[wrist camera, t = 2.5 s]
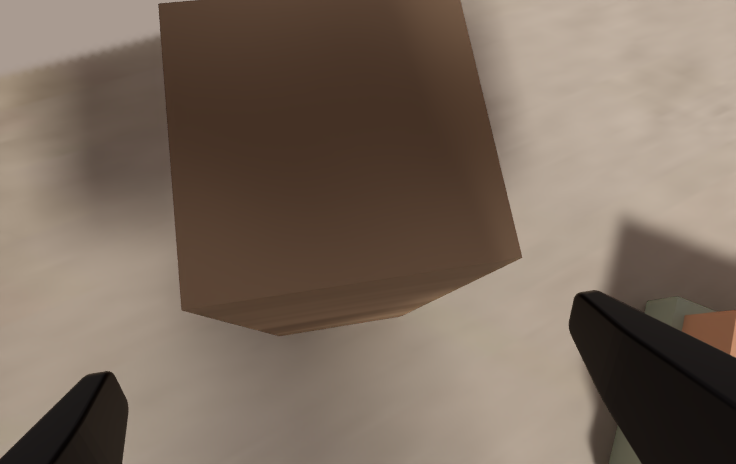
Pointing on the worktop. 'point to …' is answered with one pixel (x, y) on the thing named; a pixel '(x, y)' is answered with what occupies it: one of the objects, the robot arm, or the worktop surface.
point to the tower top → (713, 329)
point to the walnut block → (328, 160)
